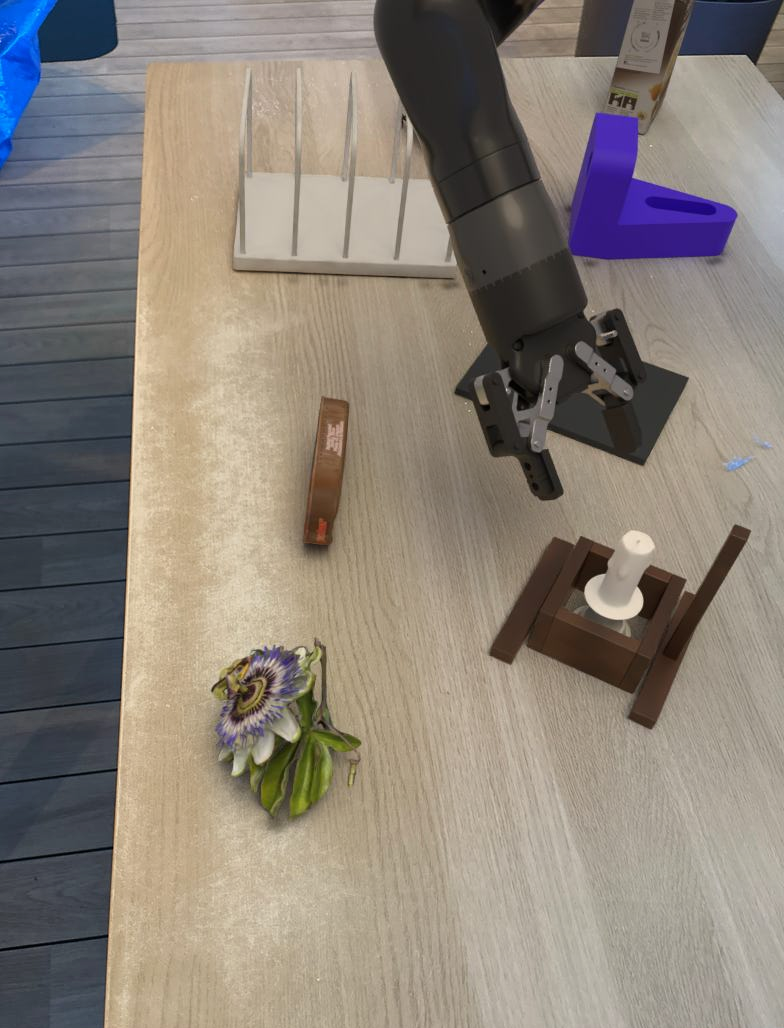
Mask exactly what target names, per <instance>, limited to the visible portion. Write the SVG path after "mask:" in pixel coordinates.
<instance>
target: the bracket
mask: <svg viewBox="0 0 784 1028" xmlns="http://www.w3.org/2000/svg"><path fill="white" fill-rule="evenodd" d="M638 151H639V133H638V118H637V117H629V116H621V115H613V114H606V113H603V112H595V114H594V118H593V121H592V124H591V129H590V133H589V137H588V140H587V143H586V148H585V152H584V155H583V159H582V163H581V167H580V171H579V175H578V178H577V182H576V185H575V189H574V192H573V196H572V201H571V207H570V208H571V210H570V220H569V232H568V241H567V242H568V245H569V247H570V250H571V253H572V256H573V255H574V256H581V257H586V258H587V257H588V258H595V259H600V260H630V259H633V260H634V259H660V258H663V259H664V258H686V257H687V258H691V257H715V256H719V255H721V254H722V253H723V252H724V250H725V247H726V244H727V243H728V240H729V238H730V235H731V234H732V230H733V228H734V226H735V224H736V221H737V218H738V212H737V211H736V210H735V208H733V207H732V206H730V205H727V204H725V203H721V202H717V201H715V200H710V199H707V198H704V197H701V196H697V195H694V194H690V193H686V192H683V191H679V190H676V189H673V188H669V187H666V186H662V185H659V184H656V183H652V182H649V181H645V180H641V179H638V178H635V177H633V176H634V172H635V169H636V164H637V160H638V154H639V153H638Z"/></svg>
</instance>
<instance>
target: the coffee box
mask: <svg viewBox="0 0 784 1028" xmlns="http://www.w3.org/2000/svg"><path fill="white" fill-rule="evenodd" d="M695 2H696V0H633V2H632V4H631V9H630V12H629V15H628V16H629V17H628V20H627V24H626V28H625V30H624V35H623V38H622V42H621V45H620V50H619V52H618V57H617V60H616V64H615V68H614V71H613V75H612V79H611V82H610V86H609V90H608V94H607V97H606V100H605V104H604V109H603V111H602V113H606V114H613V115H621V116H629V117H637V118H638V135H639V134H640V135H645V134H646V133H647V131H648V129H650V126H651V125H652V123H653V122H654V120H655V118H656V116H657V114H658V113H659V112H660V110H661V108H662V106H663V103H664V101H665V97H666V94H667V91H668V89H669V85H670V82H671V79H672V76H673V72H674V70H675V65H676V62H677V59H678V57H679V53H680V50H681V47H682V43H683V40H684V38H685V34H686V31H687V27H688V24H689V22H690V18H691V15H692V12H693V8H694V5H695Z"/></svg>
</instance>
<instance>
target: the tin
mask: <svg viewBox="0 0 784 1028" xmlns="http://www.w3.org/2000/svg"><path fill="white" fill-rule="evenodd" d="M349 417H350V403H349V401H347V400H344V399H339V398H331V397H326V396H324V395H321V398H320V404H319V412H318V418H317V419H318V420H317V428H316V433H315V439H314V446H313V451H312V452H313V454H312V459H311V460H312V461H311V471H310V476H309V485H308V495H307V501H306V510H305V518H304V525H303V535H302V543H303V544H314V545H321V546H330V545H332V544H333V541H334V536H333V534H334V533H333V531H334V525H335V521H336V519H337V515H338V513H339V509H340V508H339V507H340V502H341V495H342V486H343V479H344V470H345V462H346V451H347V443H348V433H349V432H348V431H349Z"/></svg>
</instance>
